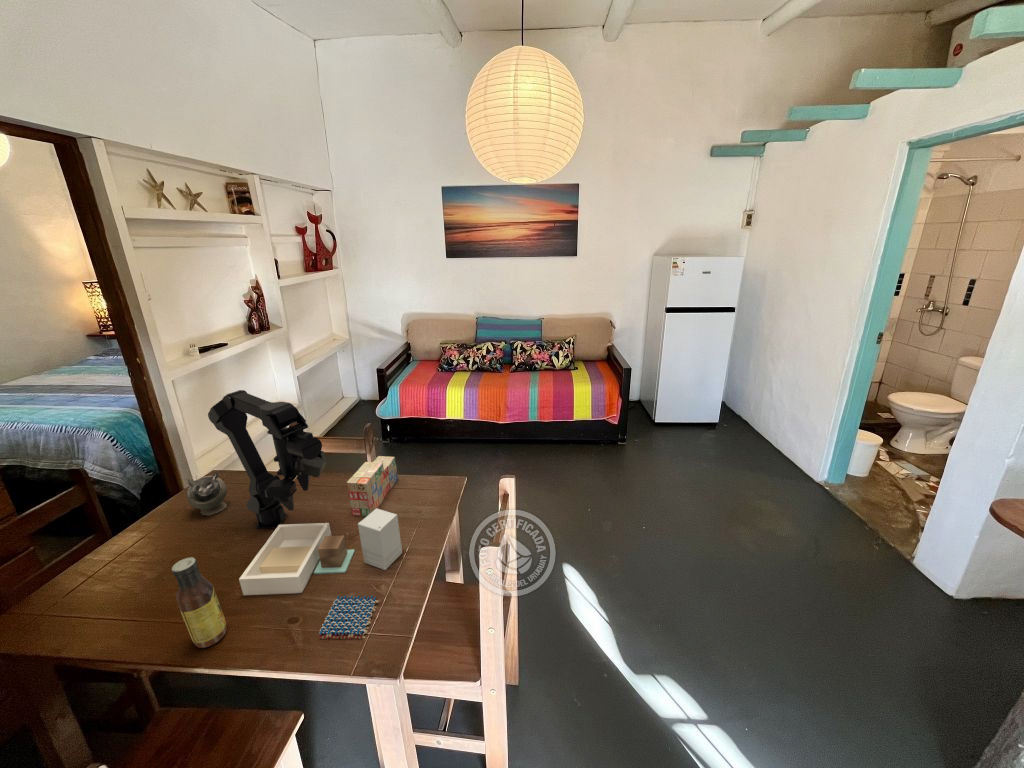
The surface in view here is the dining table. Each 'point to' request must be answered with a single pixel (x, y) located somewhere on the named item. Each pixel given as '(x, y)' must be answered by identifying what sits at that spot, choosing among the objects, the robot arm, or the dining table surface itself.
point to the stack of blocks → (371, 485)
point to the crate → (285, 560)
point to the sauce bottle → (198, 604)
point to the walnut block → (332, 551)
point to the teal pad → (336, 569)
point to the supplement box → (380, 538)
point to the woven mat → (348, 617)
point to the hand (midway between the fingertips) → (298, 499)
